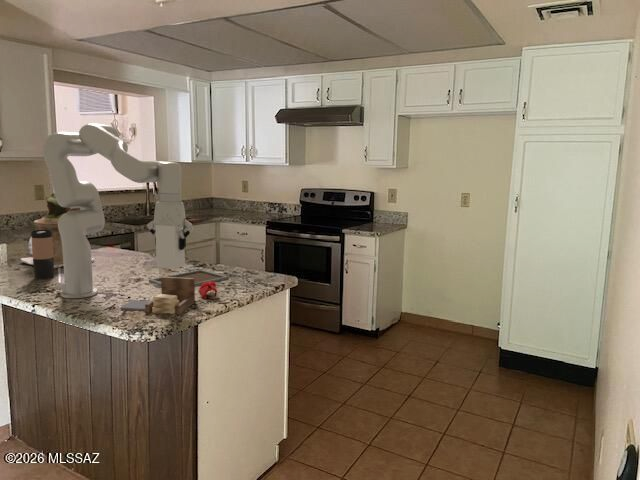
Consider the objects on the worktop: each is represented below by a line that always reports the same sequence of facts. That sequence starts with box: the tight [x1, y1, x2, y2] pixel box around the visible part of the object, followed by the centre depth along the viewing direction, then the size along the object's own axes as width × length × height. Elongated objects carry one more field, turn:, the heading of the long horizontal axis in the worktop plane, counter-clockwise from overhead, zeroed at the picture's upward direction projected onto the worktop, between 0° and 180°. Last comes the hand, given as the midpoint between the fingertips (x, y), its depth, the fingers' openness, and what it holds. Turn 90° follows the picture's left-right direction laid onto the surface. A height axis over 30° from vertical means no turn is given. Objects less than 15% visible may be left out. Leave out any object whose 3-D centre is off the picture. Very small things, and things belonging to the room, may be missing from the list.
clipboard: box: [148, 269, 230, 289], centre depth 208 cm, size 19×2×30 cm
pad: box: [120, 299, 151, 311], centre depth 172 cm, size 9×9×1 cm
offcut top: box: [153, 293, 177, 304], centre depth 166 cm, size 6×4×2 cm, turn 76°
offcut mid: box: [153, 300, 180, 309], centre depth 166 cm, size 8×4×2 cm, turn 82°
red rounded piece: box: [198, 282, 218, 299], centre depth 186 cm, size 8×6×6 cm
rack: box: [145, 276, 196, 316], centre depth 171 cm, size 12×15×9 cm
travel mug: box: [30, 229, 55, 280], centre depth 205 cm, size 8×8×20 cm
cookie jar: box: [19, 195, 96, 269], centre depth 232 cm, size 25×25×32 cm
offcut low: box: [151, 308, 176, 315], centre depth 167 cm, size 8×4×2 cm, turn 86°
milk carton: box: [155, 214, 186, 270], centre depth 169 cm, size 7×7×19 cm
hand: (170, 248), depth 169 cm, fingers closed on milk carton, 7 cm apart
